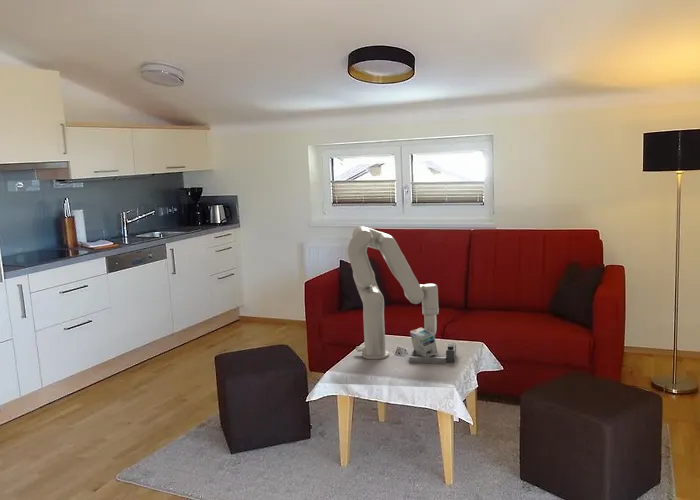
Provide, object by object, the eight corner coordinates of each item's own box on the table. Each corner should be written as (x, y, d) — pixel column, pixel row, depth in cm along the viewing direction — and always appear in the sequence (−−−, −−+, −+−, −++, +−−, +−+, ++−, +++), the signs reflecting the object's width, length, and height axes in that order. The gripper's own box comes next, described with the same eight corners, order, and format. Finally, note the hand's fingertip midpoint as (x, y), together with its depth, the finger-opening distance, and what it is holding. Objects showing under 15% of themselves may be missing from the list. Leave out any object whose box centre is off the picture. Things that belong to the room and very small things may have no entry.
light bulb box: (438, 353, 283) (434, 331, 280) (426, 358, 280) (421, 336, 278) (425, 347, 292) (421, 326, 290) (413, 352, 290) (409, 331, 287)
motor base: (409, 362, 276) (408, 348, 275) (413, 351, 291) (413, 338, 290) (454, 363, 271) (453, 349, 270) (456, 352, 286) (456, 338, 285)
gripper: (424, 306, 296) (425, 343, 298) (420, 314, 281) (422, 353, 284) (439, 306, 294) (441, 344, 296) (437, 314, 280) (438, 353, 282)
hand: (432, 348), depth 290 cm, fingers closed
